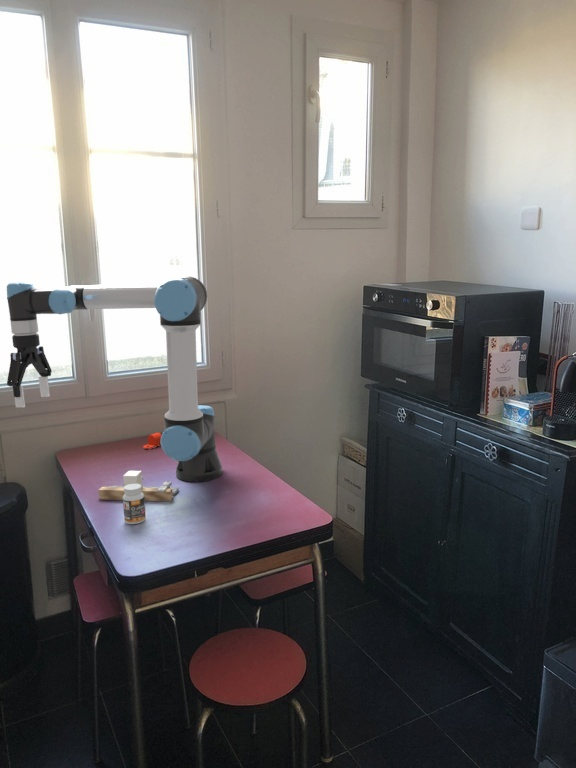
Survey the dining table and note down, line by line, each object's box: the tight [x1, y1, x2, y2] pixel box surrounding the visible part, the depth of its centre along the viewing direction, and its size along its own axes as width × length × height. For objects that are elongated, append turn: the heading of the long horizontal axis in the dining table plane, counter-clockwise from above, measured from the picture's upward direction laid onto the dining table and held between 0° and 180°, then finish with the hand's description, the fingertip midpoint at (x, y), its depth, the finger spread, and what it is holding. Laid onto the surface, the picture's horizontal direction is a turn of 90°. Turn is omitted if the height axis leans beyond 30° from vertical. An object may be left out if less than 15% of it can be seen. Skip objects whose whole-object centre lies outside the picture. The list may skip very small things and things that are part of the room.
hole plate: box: [109, 485, 180, 497], centre depth 192 cm, size 22×4×1 cm, turn 83°
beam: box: [98, 486, 174, 502], centre depth 187 cm, size 22×2×3 cm, turn 83°
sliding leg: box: [122, 470, 144, 488], centre depth 188 cm, size 4×8×8 cm, turn 173°
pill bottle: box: [122, 484, 147, 525], centre depth 171 cm, size 6×6×10 cm
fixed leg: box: [157, 480, 172, 492], centre depth 187 cm, size 2×7×2 cm, turn 173°
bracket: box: [142, 432, 162, 449], centre depth 237 cm, size 12×4×5 cm, turn 147°
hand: (33, 401), depth 194 cm, fingers open, 13 cm apart
